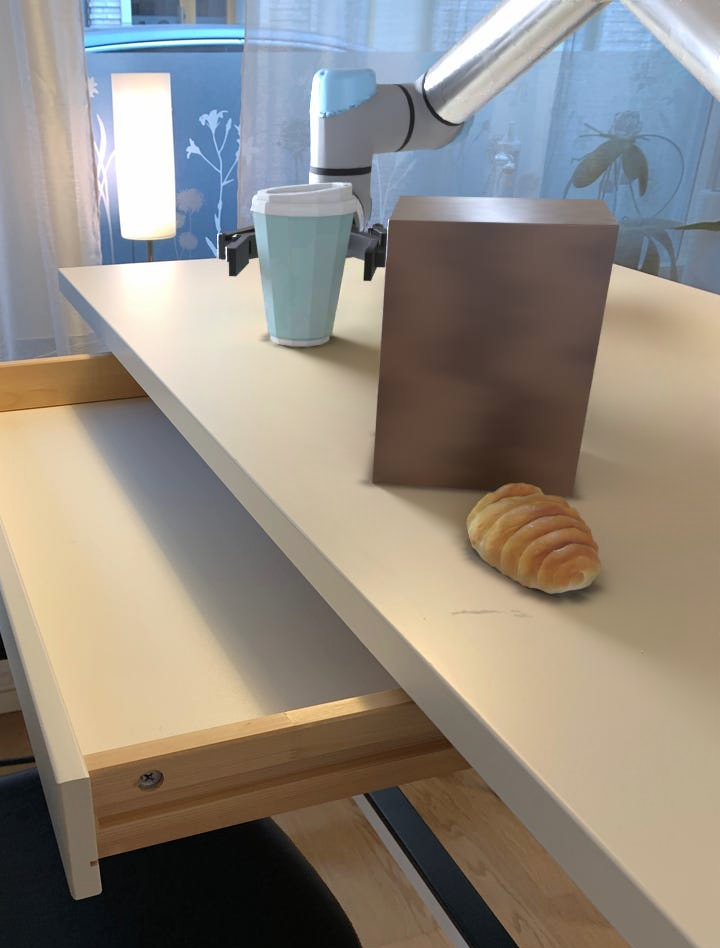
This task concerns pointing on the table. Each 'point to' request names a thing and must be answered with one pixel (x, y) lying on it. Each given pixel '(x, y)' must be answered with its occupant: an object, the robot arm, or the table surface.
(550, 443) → the storage box
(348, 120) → the robot arm
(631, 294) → the table surface
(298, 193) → the disposable coffee cup
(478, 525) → the pastry
